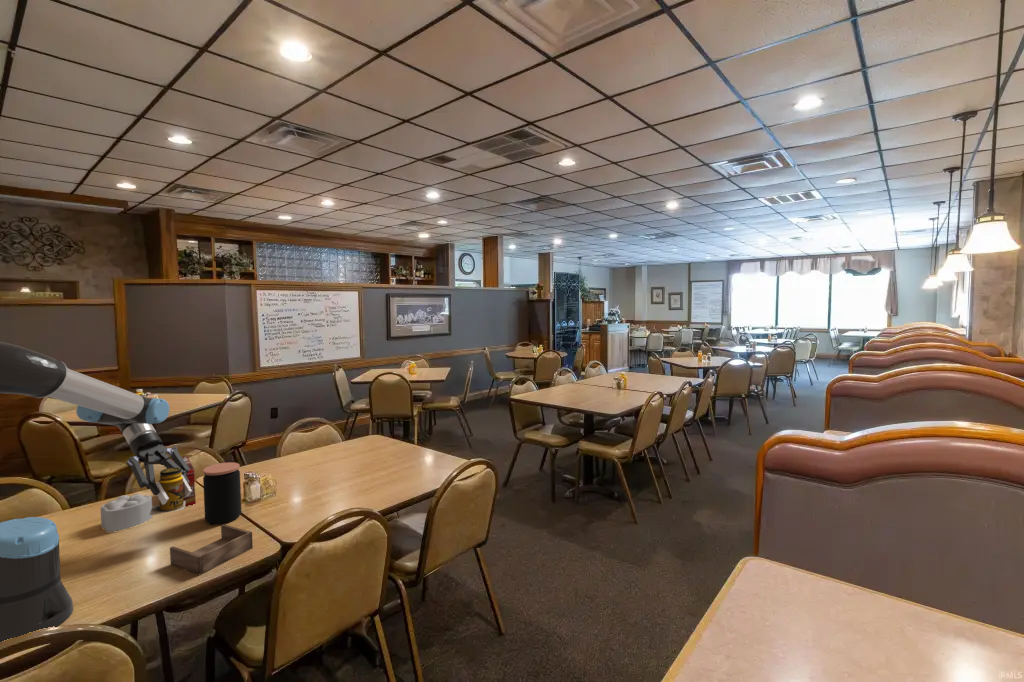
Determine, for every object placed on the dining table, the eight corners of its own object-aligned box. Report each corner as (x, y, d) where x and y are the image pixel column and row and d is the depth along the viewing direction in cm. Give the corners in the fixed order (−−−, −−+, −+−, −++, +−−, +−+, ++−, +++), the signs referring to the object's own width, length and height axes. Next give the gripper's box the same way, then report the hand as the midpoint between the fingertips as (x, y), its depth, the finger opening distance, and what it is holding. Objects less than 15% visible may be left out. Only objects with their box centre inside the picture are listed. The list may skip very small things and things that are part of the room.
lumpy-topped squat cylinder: (99, 526, 154) (97, 500, 153) (146, 512, 164) (145, 488, 164) (109, 534, 148) (107, 508, 147) (157, 519, 158) (156, 495, 158)
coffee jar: (234, 509, 167) (232, 460, 166) (246, 517, 160) (244, 466, 159) (200, 519, 159) (198, 468, 158) (211, 528, 152) (209, 475, 151)
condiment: (184, 509, 141) (183, 470, 141) (149, 515, 137) (148, 475, 136) (185, 501, 147) (184, 464, 147) (152, 507, 143) (151, 468, 142)
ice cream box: (169, 492, 182) (167, 459, 181) (189, 488, 186) (187, 456, 185) (174, 509, 167) (172, 473, 166) (195, 504, 171) (194, 469, 170)
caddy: (200, 575, 125) (199, 557, 125) (170, 564, 130) (169, 547, 130) (252, 548, 140) (252, 531, 139) (224, 539, 145) (223, 524, 144)
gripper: (170, 439, 156) (203, 493, 151) (102, 454, 139) (137, 517, 133) (179, 425, 154) (214, 480, 149) (111, 438, 137) (147, 502, 131)
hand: (177, 497), depth 141 cm, fingers closed on condiment, 6 cm apart
